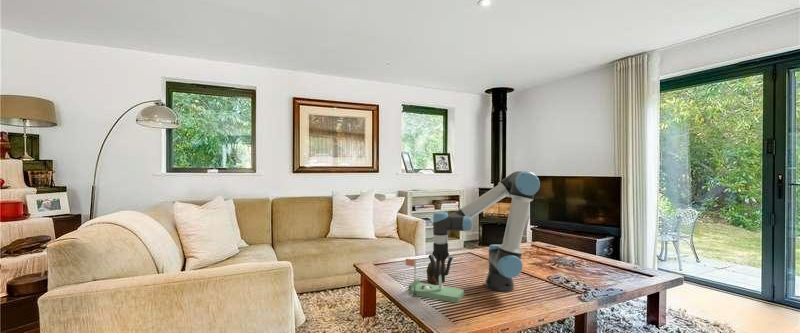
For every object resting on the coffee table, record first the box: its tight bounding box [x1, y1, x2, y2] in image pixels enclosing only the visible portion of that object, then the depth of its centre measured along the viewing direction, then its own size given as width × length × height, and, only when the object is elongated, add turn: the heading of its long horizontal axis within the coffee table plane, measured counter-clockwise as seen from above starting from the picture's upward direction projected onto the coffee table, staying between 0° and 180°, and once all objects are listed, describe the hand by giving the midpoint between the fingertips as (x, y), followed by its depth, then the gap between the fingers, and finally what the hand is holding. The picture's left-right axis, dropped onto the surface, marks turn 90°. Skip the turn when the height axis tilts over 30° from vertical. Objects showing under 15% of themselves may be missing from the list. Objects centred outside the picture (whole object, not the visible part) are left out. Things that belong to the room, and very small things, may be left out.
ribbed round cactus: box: [426, 260, 447, 285], centre depth 190 cm, size 11×11×12 cm
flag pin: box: [405, 258, 418, 298], centre depth 169 cm, size 6×2×19 cm, turn 65°
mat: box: [408, 278, 465, 303], centre depth 171 cm, size 26×12×4 cm, turn 65°
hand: (440, 288), depth 170 cm, fingers closed
